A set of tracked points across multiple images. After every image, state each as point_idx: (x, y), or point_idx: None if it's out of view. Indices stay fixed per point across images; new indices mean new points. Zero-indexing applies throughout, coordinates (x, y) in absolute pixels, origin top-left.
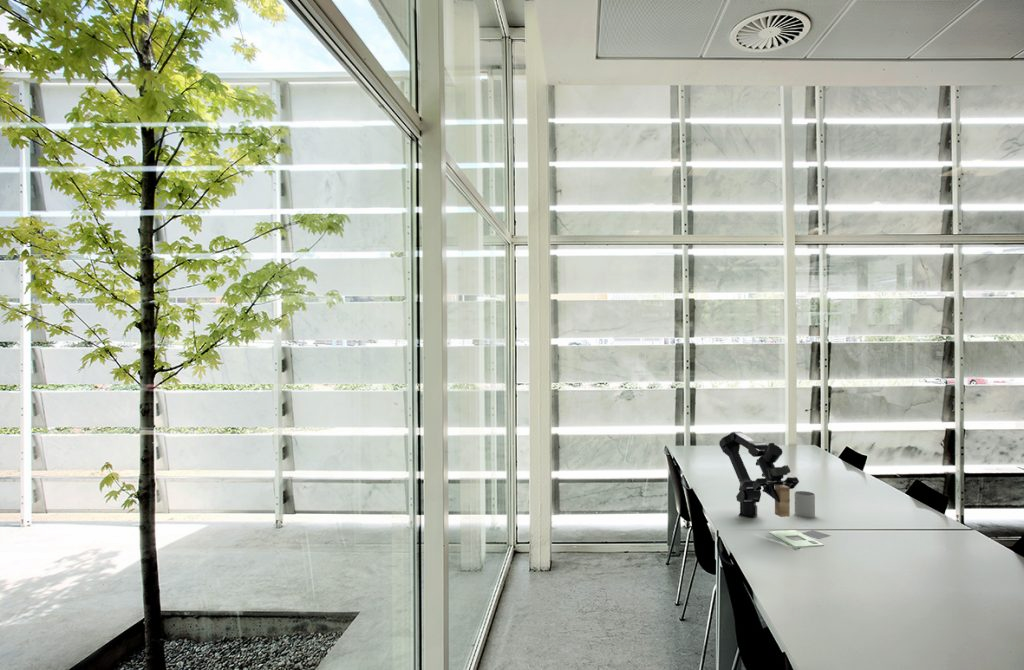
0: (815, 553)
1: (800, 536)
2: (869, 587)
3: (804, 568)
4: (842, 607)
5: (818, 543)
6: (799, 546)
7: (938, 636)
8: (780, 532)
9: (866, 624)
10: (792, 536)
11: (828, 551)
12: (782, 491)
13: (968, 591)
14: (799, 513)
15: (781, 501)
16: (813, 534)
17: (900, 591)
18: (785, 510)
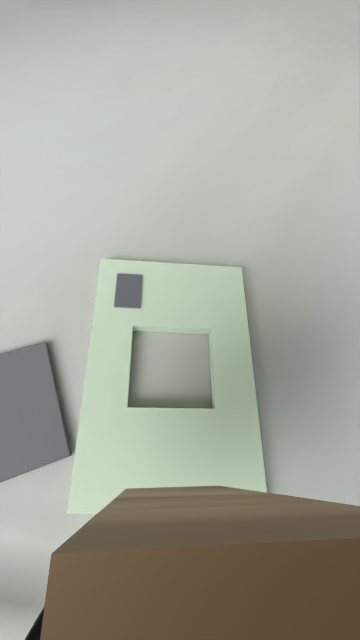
0: (188, 224)
1: (128, 380)
2: (204, 58)
3: (297, 150)
4: (314, 36)
5: (114, 274)
6: (222, 267)
7: None
8: (200, 476)
9: (306, 7)
10: (160, 408)
11: (121, 228)
12: (336, 516)
13: (5, 3)
14: None
15: (262, 493)
16: (6, 418)
17: (153, 36)
18: (174, 490)
